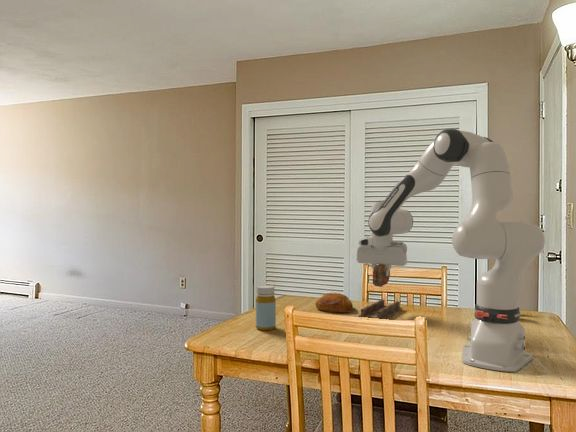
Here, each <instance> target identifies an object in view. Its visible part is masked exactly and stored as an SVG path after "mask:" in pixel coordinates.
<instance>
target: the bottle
mask: <svg viewBox="0 0 576 432" xmlns="http://www.w3.org/2000/svg"><path fill="white" fill-rule="evenodd" d="M276 307H277V306H276V298H275V286H274V285H271V284H263V285H262V284H261V285H257V286H256V298H255V328H256V329H257V330H259V331H265V332H266V331H273V330H274V329H275V328H276V324H277V323H276V321H277V319H276V315H277V314H276V311H277V310H276Z"/></svg>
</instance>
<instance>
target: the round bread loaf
mask: <svg viewBox="0 0 576 432" xmlns="http://www.w3.org/2000/svg"><path fill="white" fill-rule="evenodd" d="M315 308H316V309H317V310H318V311H323V312H331V313H349V312H351V311H352V310H353V302H352V301H351V299H349V297H348V296H347V295H345V294H342V293H339V292H338V293H337V292H327V293H325V294H323V295H322V296H320V297H319V298H318V299H317V300H316V301H315Z"/></svg>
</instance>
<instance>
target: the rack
mask: <svg viewBox="0 0 576 432" xmlns="http://www.w3.org/2000/svg"><path fill="white" fill-rule="evenodd" d="M402 311H403V307H401V302H400V301H398V300H397V301H394V302H392V303H391V304H389V305H385V299H379V300H377V301H375V302H373V303H371V304H369V305H368V306H365V307H363V308H361V309H360V314H358V316H357V317H368V318H379V319H386V320H388V319H390V318H391V317H393V316H395V315H397V314H398V313H400V312H402Z"/></svg>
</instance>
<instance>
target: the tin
mask: <svg viewBox="0 0 576 432" xmlns="http://www.w3.org/2000/svg"><path fill="white" fill-rule="evenodd" d="M386 270H387V268H386V265H381V264H377V265H376V266H375V267H374V269H373V268H372V284H373V286H375V287H380V288H381V287H383V286H385V285H387V284H388V282H389V281H390V277H391V276H390V275H391V270H390V271H389V275H388V276H384V272H385V271H386Z"/></svg>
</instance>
